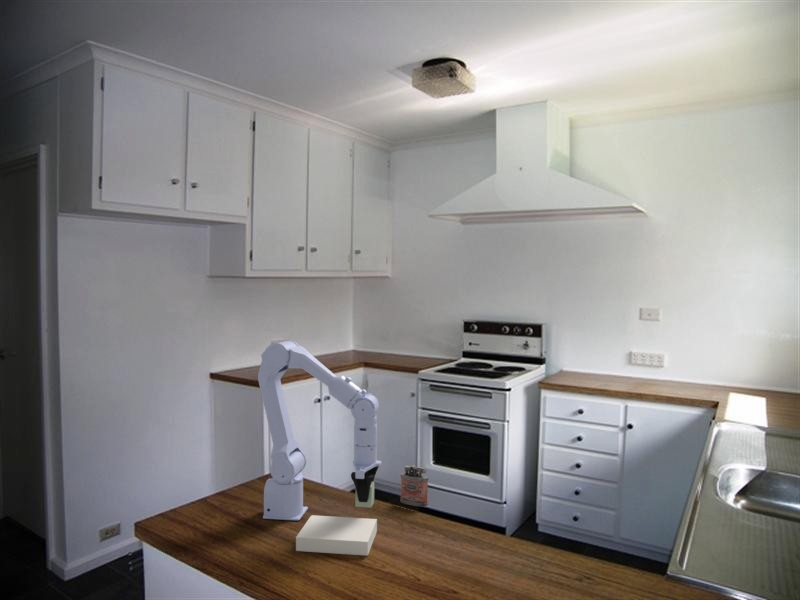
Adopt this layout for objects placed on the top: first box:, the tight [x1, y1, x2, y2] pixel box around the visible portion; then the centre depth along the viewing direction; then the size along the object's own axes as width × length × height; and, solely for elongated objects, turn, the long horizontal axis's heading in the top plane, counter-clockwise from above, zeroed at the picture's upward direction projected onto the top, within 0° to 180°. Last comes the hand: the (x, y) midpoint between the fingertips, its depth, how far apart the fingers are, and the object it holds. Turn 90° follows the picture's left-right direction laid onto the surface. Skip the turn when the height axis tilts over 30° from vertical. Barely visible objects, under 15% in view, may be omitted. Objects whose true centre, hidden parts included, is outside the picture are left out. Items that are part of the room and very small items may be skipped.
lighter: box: [399, 464, 429, 508], centre depth 149 cm, size 8×3×10 cm, turn 62°
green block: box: [354, 481, 375, 508], centre depth 138 cm, size 4×4×5 cm
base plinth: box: [295, 514, 378, 557], centre depth 126 cm, size 16×12×3 cm
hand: (364, 498), depth 138 cm, fingers closed on green block, 4 cm apart
